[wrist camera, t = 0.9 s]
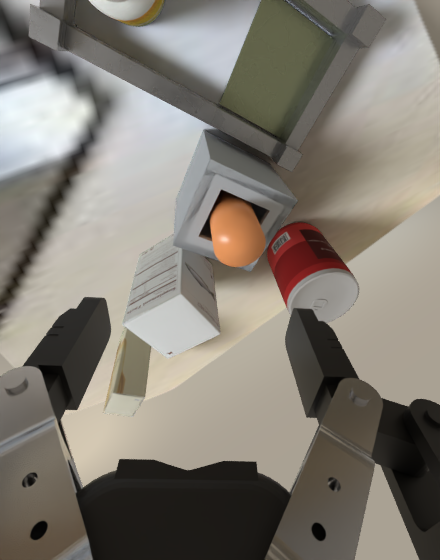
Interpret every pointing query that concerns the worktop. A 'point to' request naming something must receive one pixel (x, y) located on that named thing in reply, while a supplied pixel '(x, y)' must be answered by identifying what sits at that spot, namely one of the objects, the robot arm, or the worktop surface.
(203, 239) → the cabinet
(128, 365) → the skincare box
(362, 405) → the robot arm
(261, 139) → the grey rectangular tray
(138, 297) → the supplement box
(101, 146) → the worktop surface
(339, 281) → the canned food
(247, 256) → the brown egg
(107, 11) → the supplement bottle
